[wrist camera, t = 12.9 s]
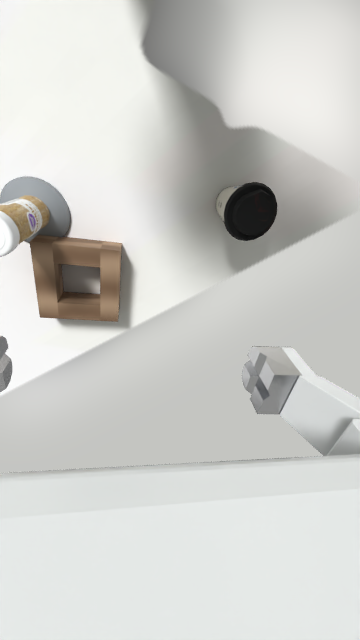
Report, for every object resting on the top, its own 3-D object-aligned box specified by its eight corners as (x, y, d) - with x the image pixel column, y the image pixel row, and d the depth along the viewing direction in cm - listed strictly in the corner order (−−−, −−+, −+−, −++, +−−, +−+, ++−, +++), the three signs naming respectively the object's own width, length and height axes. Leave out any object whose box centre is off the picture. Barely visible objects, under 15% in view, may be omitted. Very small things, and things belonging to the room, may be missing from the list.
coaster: (-6, 171, 34) (-7, 171, 34) (68, 182, 36) (67, 182, 36) (7, 240, 39) (5, 241, 38) (71, 247, 41) (71, 248, 40)
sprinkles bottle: (56, 223, 38) (22, 250, 27) (27, 233, 38) (-20, 264, 27) (39, 189, 36) (-7, 204, 24) (7, 200, 36) (-53, 219, 24)
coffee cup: (231, 235, 43) (254, 254, 35) (198, 209, 40) (215, 222, 32) (261, 197, 41) (293, 207, 32) (228, 166, 38) (255, 169, 29)
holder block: (38, 234, 39) (29, 241, 36) (121, 243, 41) (120, 250, 38) (47, 305, 45) (39, 317, 42) (119, 309, 47) (117, 321, 44)
